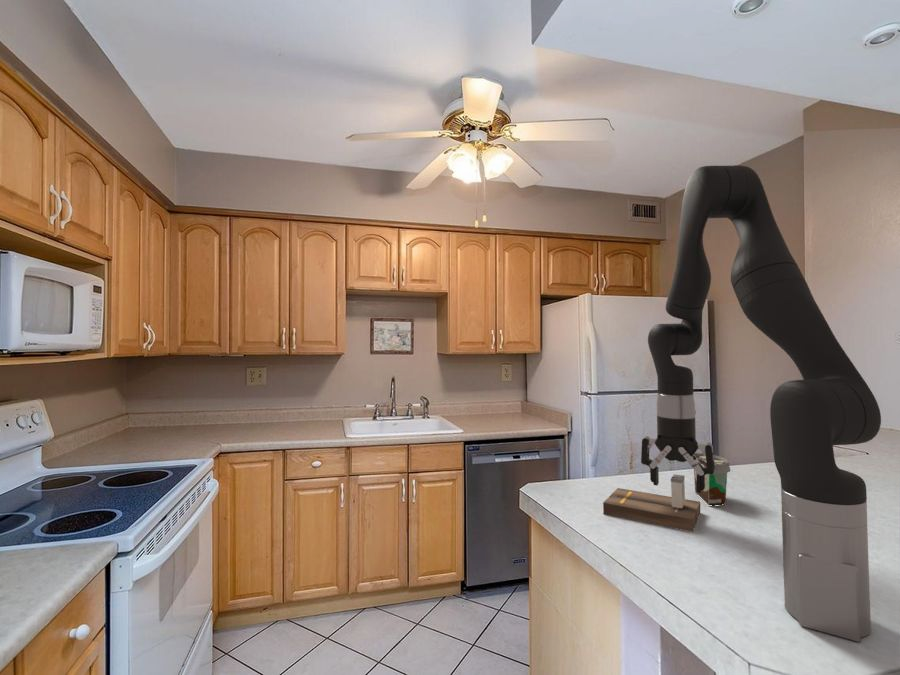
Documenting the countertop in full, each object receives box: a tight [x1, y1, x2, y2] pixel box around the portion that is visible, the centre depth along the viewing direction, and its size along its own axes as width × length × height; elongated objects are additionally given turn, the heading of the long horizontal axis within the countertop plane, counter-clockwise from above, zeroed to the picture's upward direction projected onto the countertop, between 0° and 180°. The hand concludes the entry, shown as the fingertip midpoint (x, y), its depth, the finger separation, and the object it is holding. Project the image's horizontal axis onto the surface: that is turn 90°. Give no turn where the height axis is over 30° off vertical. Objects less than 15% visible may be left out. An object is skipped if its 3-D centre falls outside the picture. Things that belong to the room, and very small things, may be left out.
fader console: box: [602, 487, 701, 532], centre depth 100 cm, size 12×18×3 cm, turn 54°
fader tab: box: [670, 473, 686, 508], centre depth 97 cm, size 4×2×6 cm, turn 144°
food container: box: [693, 452, 731, 507], centre depth 108 cm, size 12×6×10 cm, turn 168°
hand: (677, 488), depth 98 cm, fingers open, 8 cm apart
